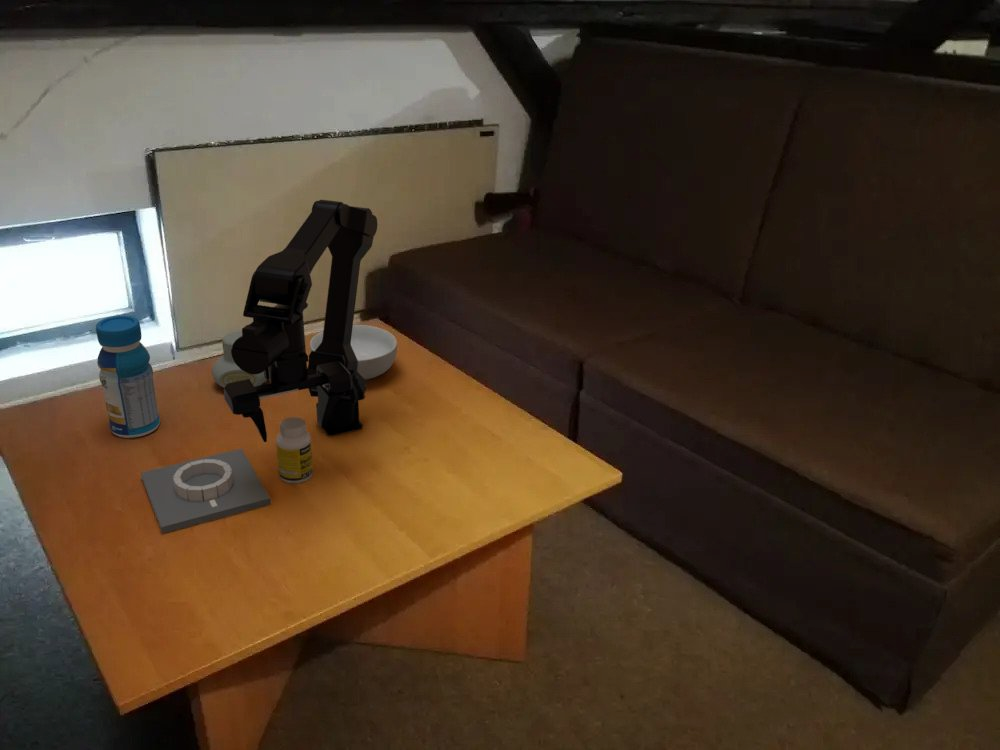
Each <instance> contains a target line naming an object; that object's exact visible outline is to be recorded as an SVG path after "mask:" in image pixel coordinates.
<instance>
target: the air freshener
mask: <svg viewBox="0 0 1000 750" xmlns="http://www.w3.org/2000/svg"><path fill="white" fill-rule="evenodd" d="M241 336H242V330H241V331H231V332H230V333H227V334H225V335H224V336H223V337H222V339H221V342H222V343H221V344H222V353H223V355H221V356H220V357H219V358H217V359H216V361H215V362H214V364H213V366H212V368H211V376H212V379H213V380H214V382H215V383H216V384H217V385H219V386H220V387H222V388H223V389H224V388H225V386H226V384H227V383H232V382H237V381H242V380H247V379H249V380H250V381H251V383H252V384H253V386H254V387H255V386H260V385H264V383H266V381H267V380H268V379H266V378H265V377H264V372H262V373H260V374H249V373H246V372H244V371H243V370H241V369H240V368H239V367H238V366H237V365H236V363H235V362H234V360H233V358H232V354H231V349H232V346H233V344H234V342H235V341H236V340H237V339H238V338H239V337H241Z"/></svg>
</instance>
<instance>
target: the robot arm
mask: <svg viewBox="0 0 1000 750" xmlns="http://www.w3.org/2000/svg"><path fill="white" fill-rule="evenodd" d="M377 230H378V218H377V216H376V215H375V214H373V212H372V210H371V209H370V208H369V207H361V206H360V207H359V206H352V205H348V204H347V203H344V202H342V201H339V200H338V201H337V200H329V199H319V200H315V201H314V202H313V204H312V206H311V212H310V213H309V215H308V216H307V217H306V218H305V220H304V222H303V223H302V225H301V226H300V227H299V229H298V230H297V231H296V233H294V236H293V237H292V238H291V240H290V241H289V242H288V244H287V245H286V246H285V248H284V249H283V250H281V251H279V252H276V253H274V254H271V255H269V256H267V257H266V258H265V259H264V260H263V261H262V262H261V263H260V264H258V266H257V267H256V269H255V270H254V272H253V274H252V276H251V280H250V283H249V288H248V292H247V296H246V300H245V304H244V307H243V308H244V309H243V313H242V316H243V317H244V318H252V321H251V323H249V324H246V325H245V326H243V327H242V328H241V331H242V336H241V337H239V338H238V339H237V340H236V341H235V342H234V344H233V346H232V349H231V354H232V358H233V360H234V362H235V363H236V365H237V366H238V367H239V368H240V369H241V370H243V371H244V372H246V373H249V374H260V373H262V372H264V377H265V378H266V379H267V380H269V383H265V384H261V385H260V386H255V387H254V386H253V384H252V383H251V381H250V380H249V379H247V380H242V381H237V382H232V383H227V384H226V386H225V388H224V387H223V397H224V401H225V403H226V404H227V405H228V407H229V409H230V411H231V412H232V414H233V415H236V416H237V415H238V416H240V415H241V416H242V418H250V419H251V420H252V422H253V424H254V425H255V428H256V429H257V432H258V434H259V435H260V437H261V439H262V441H263V443H267V442H268V434H267V433H268V432H267V429H266V422H265V417H264V411H263V409H262V408H261V399H265V398H270V397H274V396H280V395H283V394H289V393H293V392H299V391H301V390H306V389H308V391H309V395H310V397H313V398H314V397H316V398H317V402H316V404H315V406H316V407H315V408H316V422H317V424H318V426H319V428H320V429H322V430H323V431H324V432H325V433H326V435H327V436H328V437H333V436H337V435H342V434H346V433H350V432H354V431H357V430H361V429H363V428H364V425H363V424H362V422H361V421H360V412H359V411H360V405H359V401H362V400H363V401H364V399H365V393H366V391H367V390H366V389H367V380H365V379H364V378H363V377H362V376H361V375H360V374H359V373H358V372H357V368H358V360H357V358H356V356H355V353H354V351H353V349H352V347H351V336H352V327H353V325H354V317H355V311H356V310H355V308H356V302H357V293H358V284H359V276H360V268H361V261H362V259H364V257H365V256H366V254H367V253H368V252H369V251H370V250H371V248H372V247H373V241H374V238H375V237H374V236H375V235H376V233H377ZM327 248H328V251H329V253H330V255H331V262H330V263H331V264H330V273H329V281H328V291H327V298H326V307H325V314H324V324H323V330H322V331H323V339H322V342H321V344H320V345H319V346H318V347H317V349H316V350H315V351H311V352H309V355H308V354H307V351H306V350H307V349H306V338H305V337H306V336H305V324H304V310H306V309H307V308H308V307H309V304H308V302H307V300H308V298H309V295H310V292H311V289H312V286H313V281H312V277H311V273H312V272H313V270H314V267H315V266H316V265H317V263H318V261H319V260H320V258H321V257H322V256H323V254H324V252H325V251H326V249H327ZM259 302H262V303H267V304H273V305H274V304H275V305H274V306H268V305H262V304H261V305H260V304H259Z"/></svg>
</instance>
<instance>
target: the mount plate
mask: <svg viewBox="0 0 1000 750" xmlns="http://www.w3.org/2000/svg"><path fill="white" fill-rule="evenodd" d="M140 475H141V479H142V482H143V486H144V488H145V491H146V494H147V497H148V499H149V502H150V504H151V507H152V510H153V512H154V516H155V518H156V521H157V523H158V525H159V528H160V532H161V534H162V535H163V534H164V535H165V534H167V533H170V532H174V531H178V530H181V529H185V528H189V527H193V526H197V525H200V524H204V523H208V522H211V521H214V520H219V519H222V518H227V517H230V516H233V515H237V514H241V513H244V512H248V511H252V510H256V509H259V508H264V507H266V506H270V505H272V501H271V496H270V495H269V493H268V492H267V490H266V488H265V486H264V485H263V483H262V481H261V479H260V478H259V476H258V474H257V472H256V471H255V469H254V467H253V465H252V463H251V462H250V460H249V459H248V457H247V455H246V454H245V451H244V450H243V448H238V449H233V450H230V451H225V452H222V453H217V454H212V455H209V456H204V457H199V458H195V459H191V460H187V461H183V462H179V463H175V464H171V465H166V466H162V467H158V468H154V469H153V468H152V469H148V470H145V471H142V472H140Z"/></svg>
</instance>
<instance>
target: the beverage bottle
mask: <svg viewBox="0 0 1000 750" xmlns="http://www.w3.org/2000/svg"><path fill="white" fill-rule="evenodd" d="M95 331H96V332H95V333H96V337H97V342H98V343H99V346H101V349H100V350H99V354H98V356H97V362H96V363H97V366H98V368H99V369H100V371H99V374H98V377H99V378H98V379H99V382H100V384H101V387H102V391H103V398H104V402H105V406H106V407H105V408H106V412H107V417H108V418H107V419H108V421H109V422H108V425H109V429H110V432H111V433H113V434H114V435H115V436H117V437H119V438H126V439H130V438H139V437H143V436H147V435H149V434H151V433H152V432H154V431H156V430H157V429H158V427H159V426H160V423H161V419H160V414H159V409H158V401H157V396H156V388H155V383H154V370H153V367H152V365H151V364H150V360H151V356H150V353H149V351H148V350H147V348H146V347H145V345H144V344H143V343H142V342H141V340H142V328H141V323H140V321H139V319H138V318H137V317H134V316H131V315H114V316H109V317H105V318H103V319H101V320H99V321H98V322H97V323H96V325H95Z"/></svg>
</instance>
